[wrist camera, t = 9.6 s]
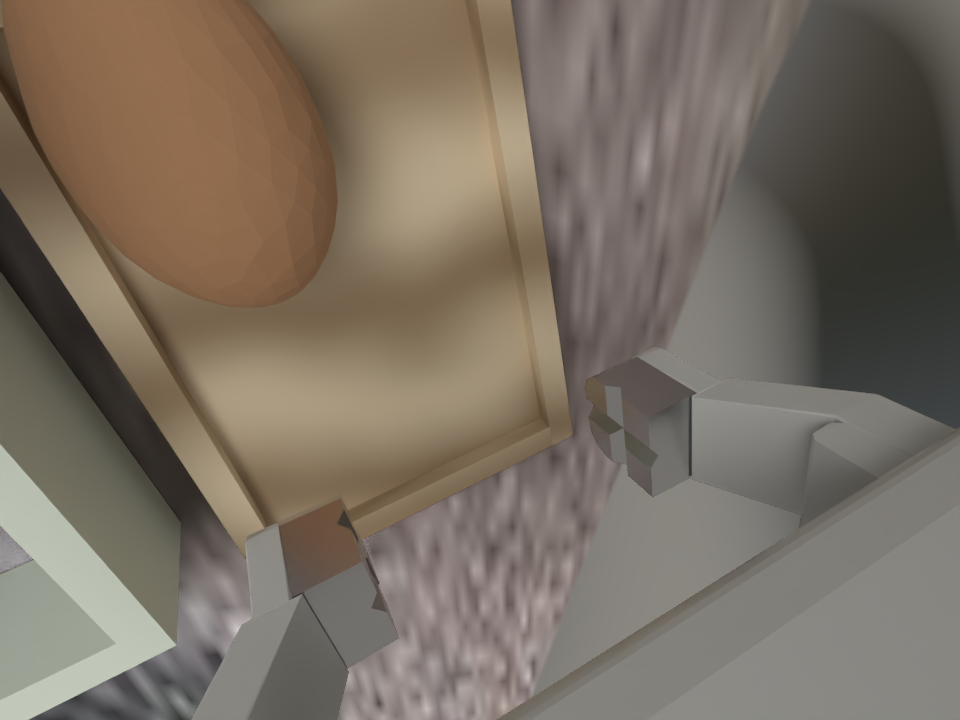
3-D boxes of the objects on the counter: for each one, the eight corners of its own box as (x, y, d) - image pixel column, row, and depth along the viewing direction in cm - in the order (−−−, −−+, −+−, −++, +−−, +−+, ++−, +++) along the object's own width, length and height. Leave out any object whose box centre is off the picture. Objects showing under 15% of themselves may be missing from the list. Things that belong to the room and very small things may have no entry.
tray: (-99, -6, 11) (-135, -16, 10) (468, -103, 15) (493, -120, 13) (260, 558, 21) (264, 588, 19) (554, 417, 24) (573, 435, 23)
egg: (406, 231, 15) (257, -146, 11) (337, 339, 11) (48, -202, 6) (250, 267, 16) (63, -48, 12) (138, 375, 12) (-203, -44, 8)
